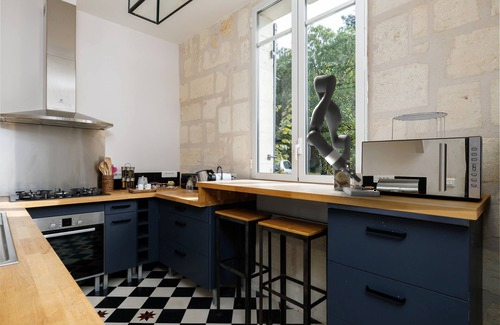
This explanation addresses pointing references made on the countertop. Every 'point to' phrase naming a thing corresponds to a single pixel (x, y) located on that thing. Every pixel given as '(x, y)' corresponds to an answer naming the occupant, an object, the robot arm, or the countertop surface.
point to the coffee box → (341, 179)
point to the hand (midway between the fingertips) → (358, 181)
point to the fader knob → (356, 181)
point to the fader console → (361, 192)
